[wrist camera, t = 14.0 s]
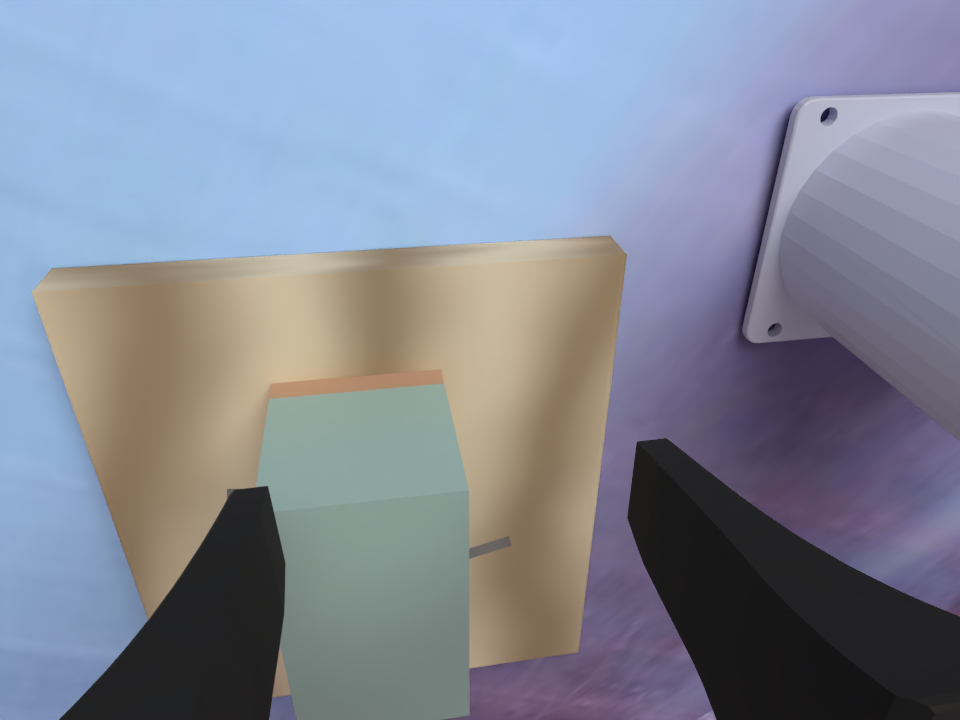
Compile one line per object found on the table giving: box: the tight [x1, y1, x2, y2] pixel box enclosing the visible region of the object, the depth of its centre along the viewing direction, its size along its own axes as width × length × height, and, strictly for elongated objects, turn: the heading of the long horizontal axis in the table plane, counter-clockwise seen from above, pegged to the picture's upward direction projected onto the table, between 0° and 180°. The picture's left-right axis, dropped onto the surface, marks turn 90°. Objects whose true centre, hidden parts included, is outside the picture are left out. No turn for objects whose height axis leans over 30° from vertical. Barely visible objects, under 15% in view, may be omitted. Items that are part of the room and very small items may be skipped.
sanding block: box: [256, 369, 470, 720], centre depth 21 cm, size 5×9×6 cm, turn 0°
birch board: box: [32, 236, 627, 698], centre depth 25 cm, size 16×18×2 cm
